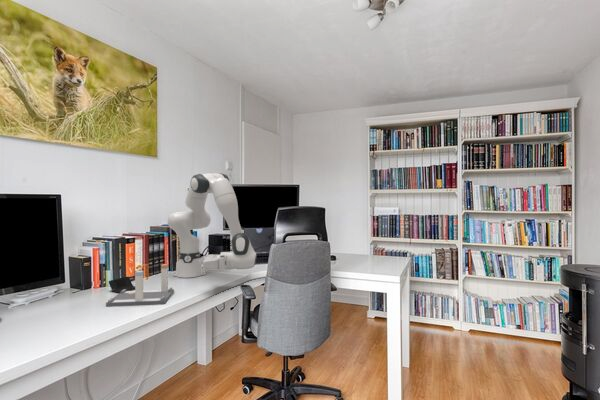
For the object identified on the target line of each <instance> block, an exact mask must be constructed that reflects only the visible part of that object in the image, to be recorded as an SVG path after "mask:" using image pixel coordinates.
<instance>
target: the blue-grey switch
mask: <svg viewBox="0 0 600 400" xmlns="http://www.w3.org/2000/svg"><path fill="white" fill-rule="evenodd" d="M144 274H145V273H144V270H136V271H135V272H134V277H135V279H134V283H135V285H134V286H135V290H134V291H135V301H142V300H143V290H144Z"/></svg>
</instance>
